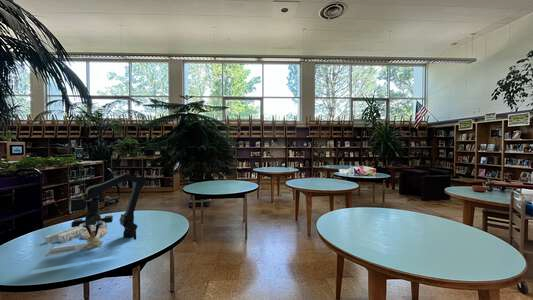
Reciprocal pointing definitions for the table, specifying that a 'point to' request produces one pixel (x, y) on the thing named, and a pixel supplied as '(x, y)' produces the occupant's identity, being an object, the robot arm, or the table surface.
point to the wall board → (70, 249)
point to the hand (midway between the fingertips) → (93, 236)
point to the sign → (75, 233)
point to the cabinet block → (93, 240)
